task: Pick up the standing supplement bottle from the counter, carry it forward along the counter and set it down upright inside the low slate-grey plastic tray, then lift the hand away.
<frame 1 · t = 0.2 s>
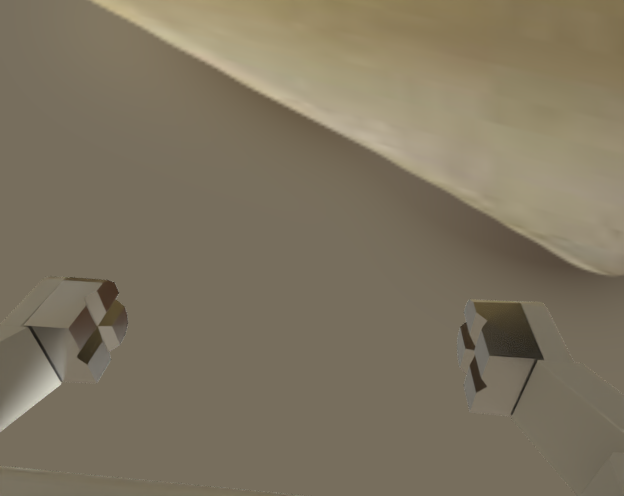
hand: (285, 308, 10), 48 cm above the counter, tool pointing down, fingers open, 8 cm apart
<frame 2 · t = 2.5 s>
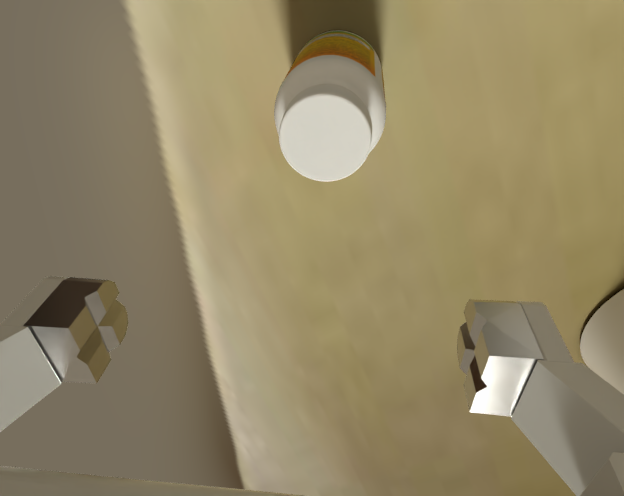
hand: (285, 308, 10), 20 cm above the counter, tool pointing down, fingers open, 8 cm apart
supplement bottle: (337, 77, 26), on the counter
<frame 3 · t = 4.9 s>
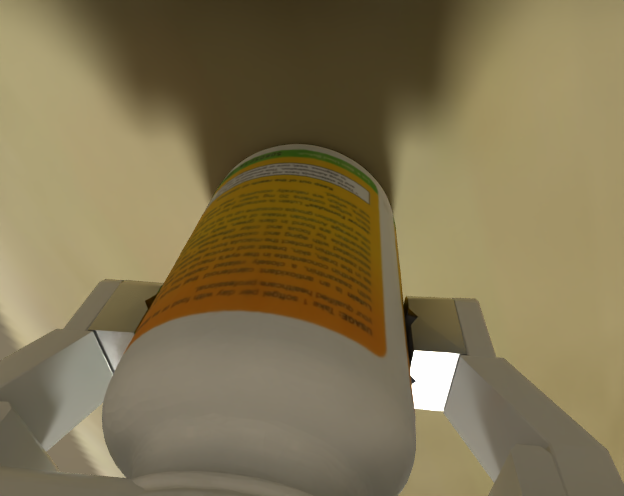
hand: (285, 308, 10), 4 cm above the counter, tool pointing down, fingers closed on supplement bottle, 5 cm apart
supplement bottle: (304, 220, 13), on the counter, touching gripper
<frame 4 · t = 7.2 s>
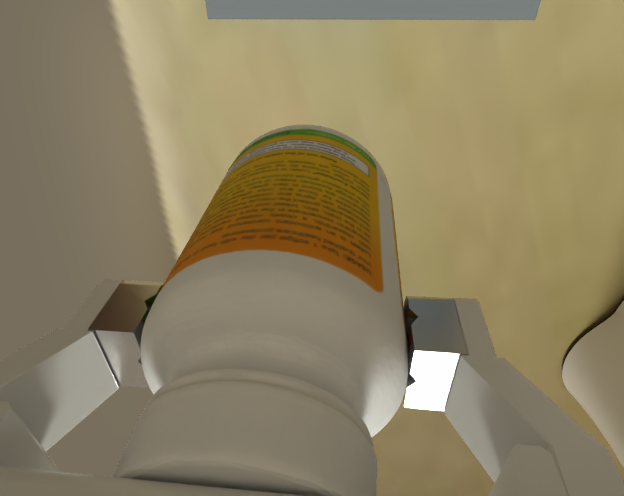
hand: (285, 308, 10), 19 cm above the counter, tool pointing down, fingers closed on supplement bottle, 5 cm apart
supplement bottle: (308, 197, 14), point 14 cm above the counter, touching gripper
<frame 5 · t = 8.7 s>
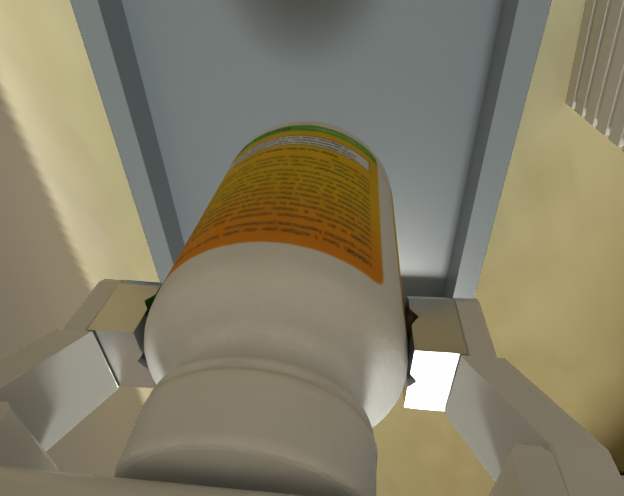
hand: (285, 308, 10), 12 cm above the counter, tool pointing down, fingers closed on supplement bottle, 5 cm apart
supplement bottle: (309, 193, 14), point 6 cm above the counter, touching gripper
slate tray: (312, 135, 19), on the counter
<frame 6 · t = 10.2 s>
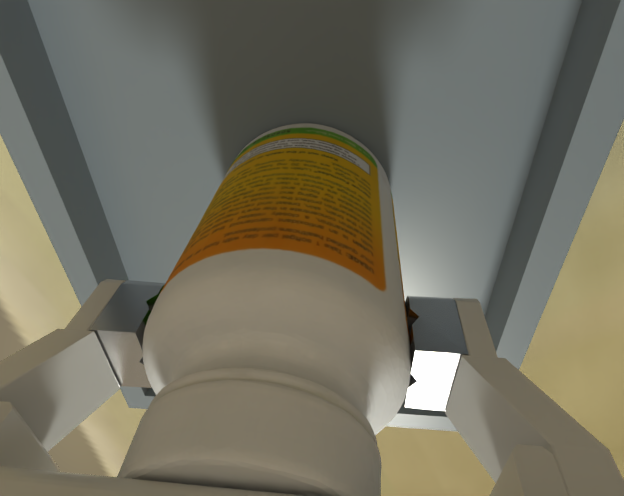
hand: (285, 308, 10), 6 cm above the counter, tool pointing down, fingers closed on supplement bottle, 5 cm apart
supplement bottle: (309, 196, 14), point 1 cm above the counter, touching gripper, slate tray
slate tray: (302, 191, 15), on the counter
when the fingers open (6 cm above the counter, at t = 10.3 s): supplement bottle stays where it is, resting on slate tray.
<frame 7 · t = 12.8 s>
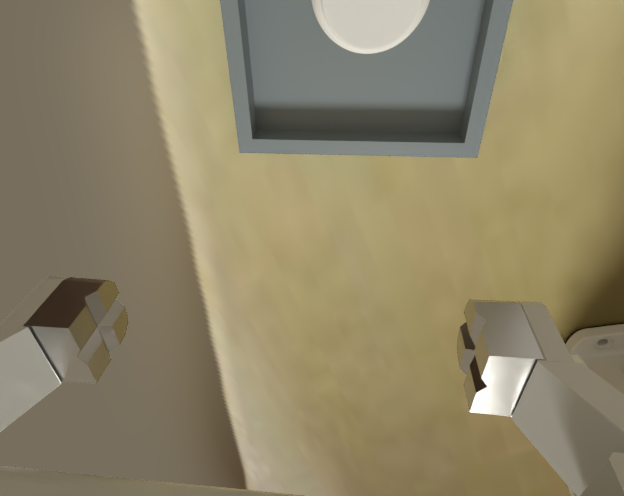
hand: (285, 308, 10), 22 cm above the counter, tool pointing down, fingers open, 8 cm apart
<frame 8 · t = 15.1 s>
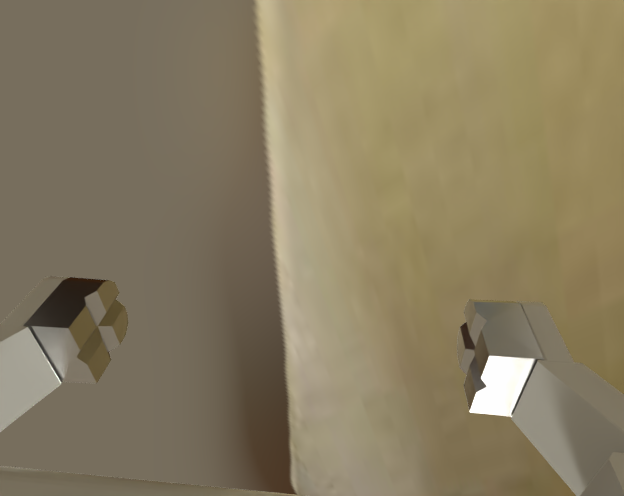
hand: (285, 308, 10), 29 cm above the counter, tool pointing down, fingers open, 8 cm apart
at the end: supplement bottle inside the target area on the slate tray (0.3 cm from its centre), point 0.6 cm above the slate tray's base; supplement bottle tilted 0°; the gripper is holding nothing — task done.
